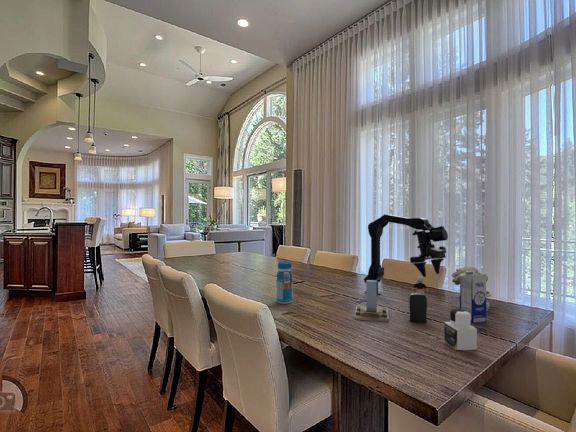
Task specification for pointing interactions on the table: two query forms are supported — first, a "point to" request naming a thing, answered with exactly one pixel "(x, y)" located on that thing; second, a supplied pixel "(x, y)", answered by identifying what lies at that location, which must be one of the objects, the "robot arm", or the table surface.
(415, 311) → the battery charger
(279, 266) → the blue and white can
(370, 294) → the tall pale blue pillar
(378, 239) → the robot arm
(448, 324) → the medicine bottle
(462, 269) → the cherub figurine
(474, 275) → the milk carton
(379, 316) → the keyhole track
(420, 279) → the grandmother figurine
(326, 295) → the table surface
